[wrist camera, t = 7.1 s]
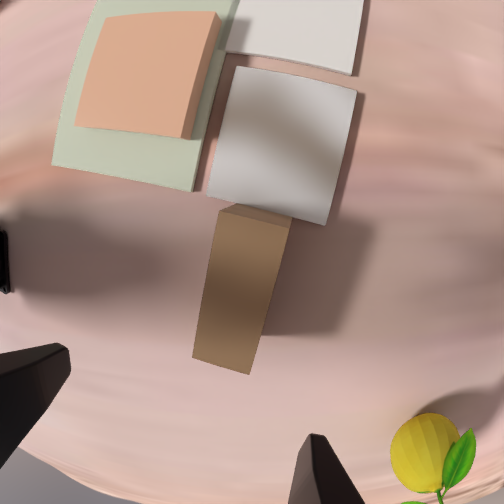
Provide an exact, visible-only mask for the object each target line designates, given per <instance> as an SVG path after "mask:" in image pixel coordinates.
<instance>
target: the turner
mask: <svg viewBox="0 0 504 504" xmlns="http://www.w3.org/2000/svg"><path fill="white" fill-rule="evenodd" d="M356 94H357V91H355V90H352V89H348V88H345V87H341V86H337V85H334V84H330V83H326V82H322V81H318V80H313V79H309V78H305V77H300V76H295V75H290V74H285V73H280V72H274V71H269V70H263V69H256V68H250V67H242V66H236V70H235V73H234V77H233V81H232V85H231V89H230V93H229V97H228V101H227V105H226V109H225V113H224V117H223V121H222V125H221V129H220V134H219V138H218V142H217V147H216V151H215V155H214V160H213V164H212V169H211V174H210V178H209V183H208V188H207V193H206V196H208V197H213V198H217V199H221V200H225V201H230V202H234V203H237V204H234V205H232V206H230V207H227V208H225V209H222V210H220V211H219V214H218V219H217V224H216V229H215V234H214V239H213V244H212V249H211V254H210V259H209V264H208V270H207V275H206V280H205V286H204V291H203V297H202V302H201V308H200V313H199V319H198V325H197V331H196V337H195V343H194V349H193V355H192V358H195V359H198V360H201V361H204V362H207V363H210V364H214V365H217V366H220V367H223V368H227V369H230V370H234V371H237V372H240V373H244V374H248V375H249V374H250V371H251V367H252V364H253V361H254V357H255V354H256V350H257V347H258V343H259V340H260V336H261V333H262V329H263V326H264V322H265V319H266V315H267V312H268V308H269V304H270V301H271V297H272V293H273V290H274V286H275V282H276V279H277V275H278V271H279V268H280V264H281V260H282V256H283V252H284V249H285V245H286V241H287V237H288V233H289V229H290V225H291V221H292V218H293V217H294V218H298V219H301V220H305V221H309V222H313V223H316V224H320V225H324V226H326V222H327V218H328V215H329V211H330V207H331V203H332V199H333V196H334V192H335V188H336V184H337V180H338V176H339V171H340V167H341V163H342V159H343V155H344V150H345V146H346V142H347V137H348V133H349V128H350V123H351V119H352V114H353V109H354V104H355V99H356Z"/></svg>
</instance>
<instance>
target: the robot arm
mask: <svg viewBox="0 0 504 504" xmlns="http://www.w3.org/2000/svg"><path fill="white" fill-rule="evenodd" d="M0 291H1V292H3V293H4V294H8V293H9V292H10V286H9V275H8V258H7V234H6V232H5V231H4V230H2V229H0ZM70 372H71V363H70V355H69V350H68V348H67V347H65V346H63V345H61V344H60V343H52V344H47V345H43V346H38V347H33V348H28V349H23V350H18V351H12V352H7V353H2V354H0V469H1V467H2V466H3V465H4V464H5V462H6V461H7V460H8V458H9V457H10V456H11V454H12V453H13V452H14V450H15V449H16V448H17V446H18V445H19V444H20V443H21V441H22V440H23V439H24V438H25V436H26V435H27V434H28V432H29V431H30V430H31V429H32V427H33V426H34V425H35V424H36V422H37V421H38V420H39V419H40V417H41V416H42V415H43V414H44V412H45V411H46V410H47V409H48V407H49V406H50V404H51V403H52V401H53V400H54V398H55V396H56V395H57V393H58V392H59V390H60V389H61V387H62V386H63V384H64V383H65V381H66V380H67V378H68V377H69V375H70ZM288 504H365V502H364V501H363V499H362V498H361V496H360V494H359V493H358V491H357V489H356V488H355V486H354V484H353V483H352V481H351V479H350V478H349V476H348V474H347V473H346V471H345V469H344V467H343V466H342V464H341V462H340V461H339V459H338V457H337V456H336V454H335V452H334V450H333V449H332V447H331V445H330V444H329V442H328V440H327V438H326V437H325V436H324V435H319V434H313V433H311V434H309V435H308V437H307V438H306V440H305V442H304V444H303V445H302V447H301V449H300V451H299V453H298V457H297V461H296V467H295V472H294V477H293V481H292V486H291V491H290V496H289V501H288Z"/></svg>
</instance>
